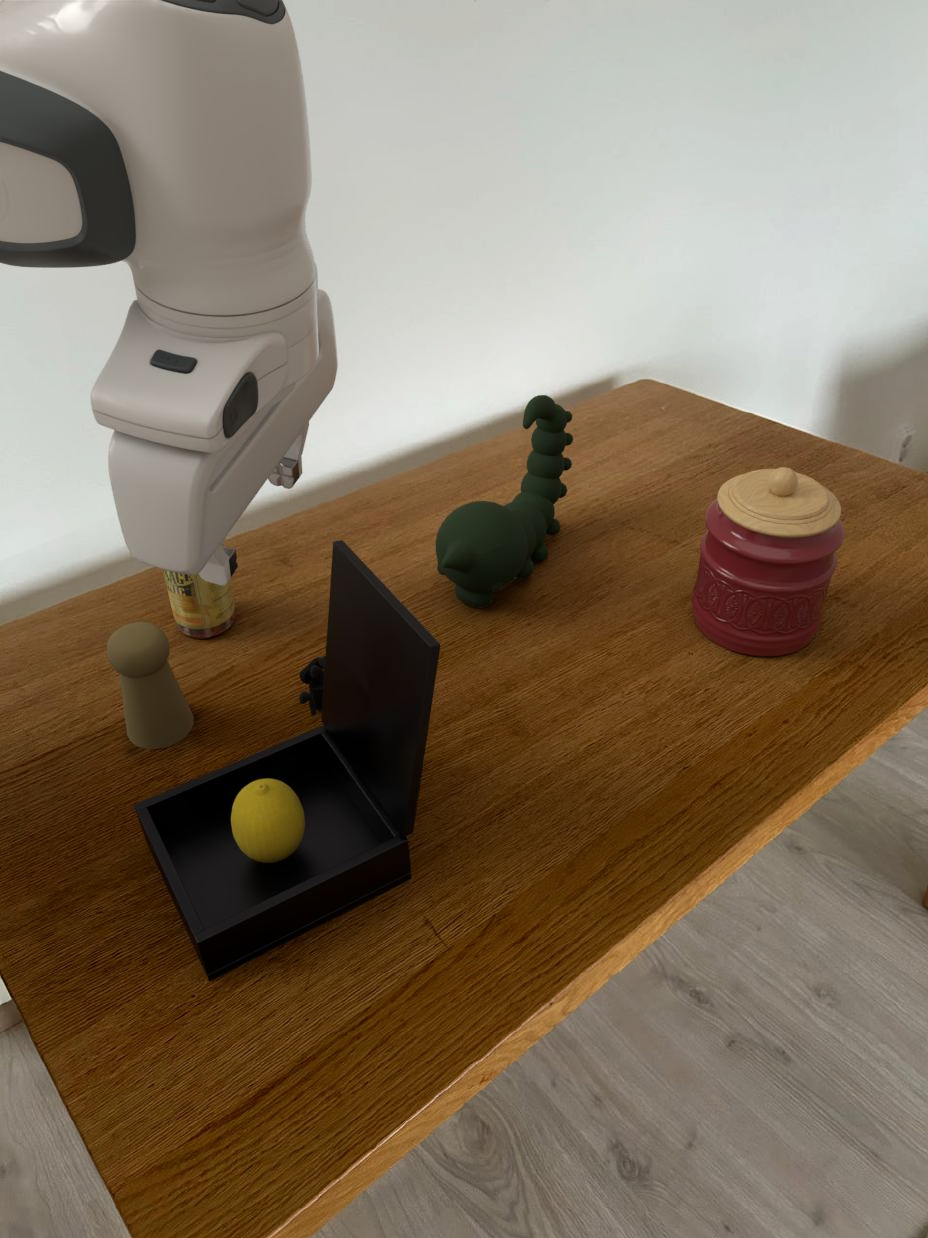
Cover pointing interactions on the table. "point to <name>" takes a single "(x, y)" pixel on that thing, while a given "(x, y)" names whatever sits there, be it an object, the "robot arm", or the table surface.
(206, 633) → the sauce bottle
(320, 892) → the black box base
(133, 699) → the cork
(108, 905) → the table surface
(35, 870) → the table surface
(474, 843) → the table surface
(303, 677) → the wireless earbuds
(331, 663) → the lid
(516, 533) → the toy figurine
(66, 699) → the table surface
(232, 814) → the lemon
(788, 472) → the kitchen canister
